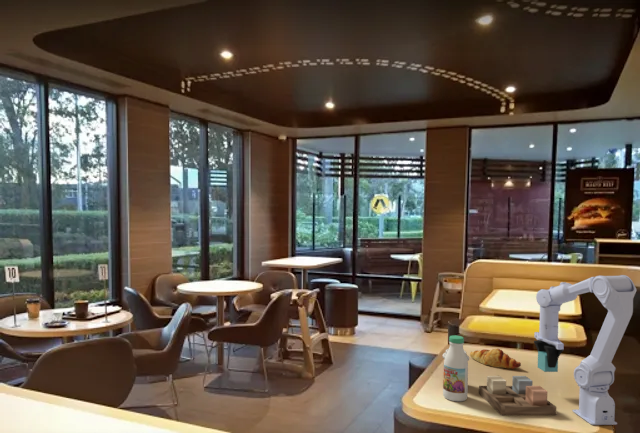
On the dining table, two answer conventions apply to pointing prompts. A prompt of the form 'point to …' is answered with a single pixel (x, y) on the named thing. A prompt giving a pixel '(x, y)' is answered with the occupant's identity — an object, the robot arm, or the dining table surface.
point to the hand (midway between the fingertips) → (547, 364)
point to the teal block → (545, 362)
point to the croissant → (495, 358)
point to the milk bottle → (455, 371)
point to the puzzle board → (516, 396)
